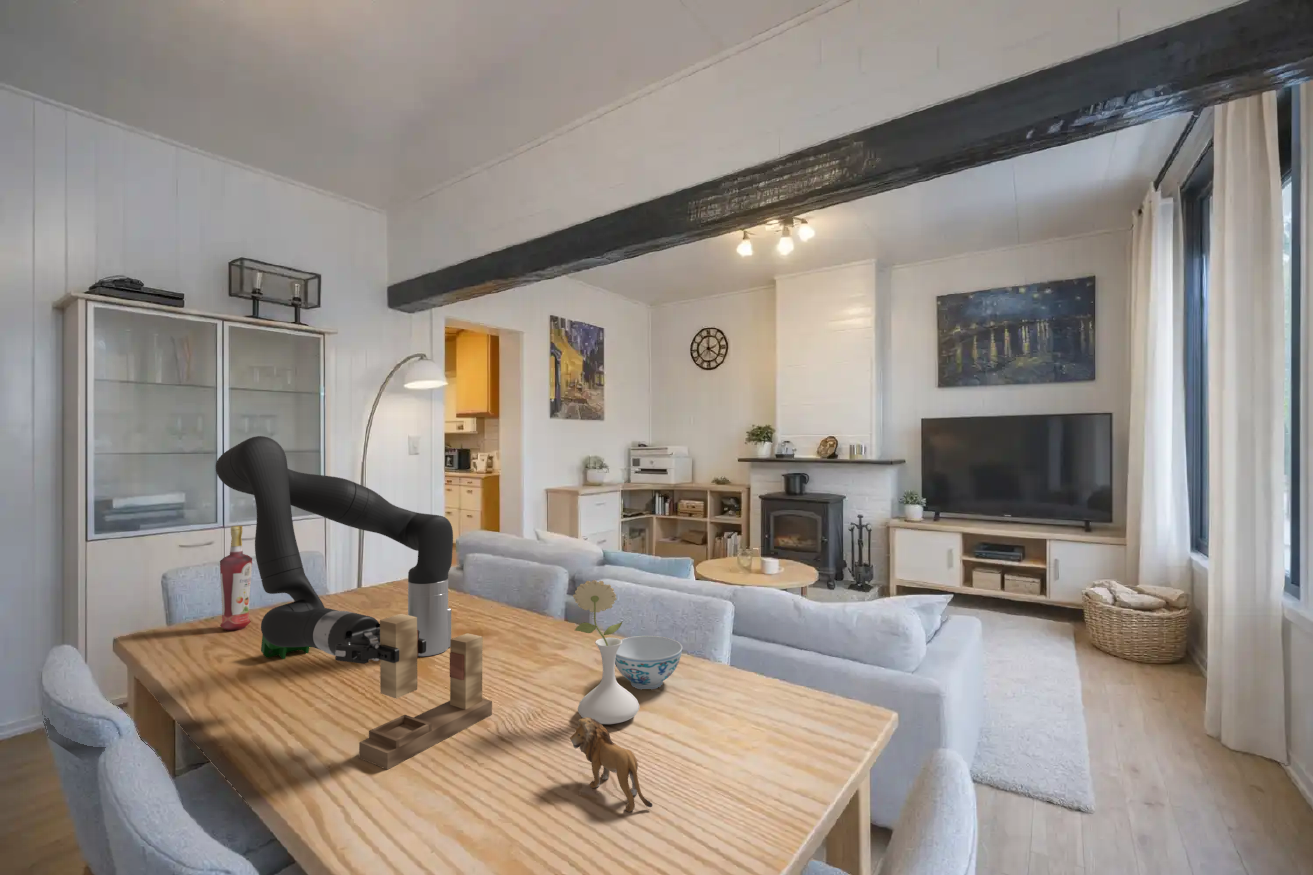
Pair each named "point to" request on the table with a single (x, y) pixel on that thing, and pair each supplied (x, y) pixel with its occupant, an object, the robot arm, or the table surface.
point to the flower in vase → (604, 661)
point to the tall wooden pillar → (404, 672)
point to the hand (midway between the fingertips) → (411, 651)
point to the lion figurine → (608, 758)
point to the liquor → (235, 584)
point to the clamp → (278, 649)
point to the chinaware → (647, 660)
